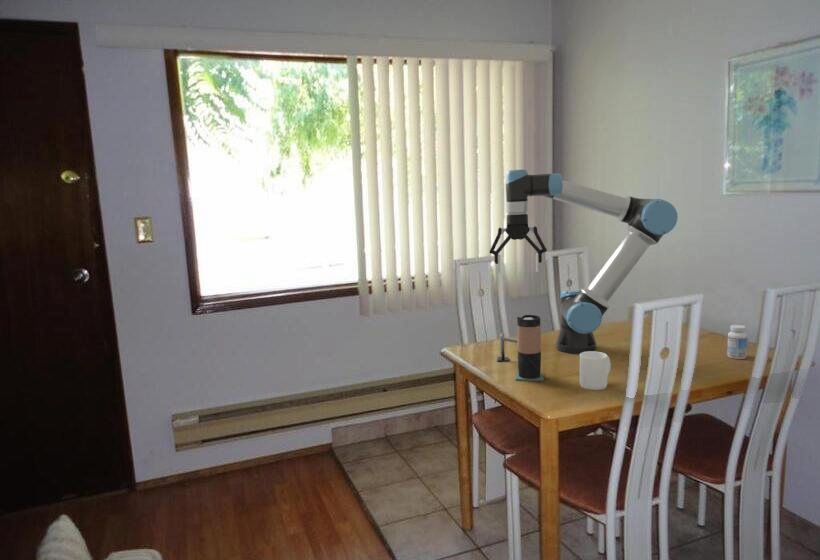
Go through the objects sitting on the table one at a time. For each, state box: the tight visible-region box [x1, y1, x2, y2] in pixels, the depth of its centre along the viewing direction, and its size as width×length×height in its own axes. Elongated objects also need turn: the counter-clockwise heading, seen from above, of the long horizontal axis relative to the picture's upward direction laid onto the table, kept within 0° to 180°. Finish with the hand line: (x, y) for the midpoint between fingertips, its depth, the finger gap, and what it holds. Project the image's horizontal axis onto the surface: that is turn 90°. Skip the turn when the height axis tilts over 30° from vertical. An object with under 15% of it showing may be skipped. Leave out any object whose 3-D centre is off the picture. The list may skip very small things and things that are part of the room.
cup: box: [579, 350, 611, 391], centre depth 176 cm, size 8×12×10 cm
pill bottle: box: [726, 324, 749, 360], centre depth 197 cm, size 6×6×11 cm
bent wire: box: [496, 332, 517, 363], centre depth 199 cm, size 12×16×10 cm
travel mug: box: [516, 314, 542, 379], centre depth 185 cm, size 8×8×20 cm
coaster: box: [515, 371, 545, 382], centre depth 187 cm, size 9×7×1 cm
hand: (518, 272), depth 202 cm, fingers open, 13 cm apart
